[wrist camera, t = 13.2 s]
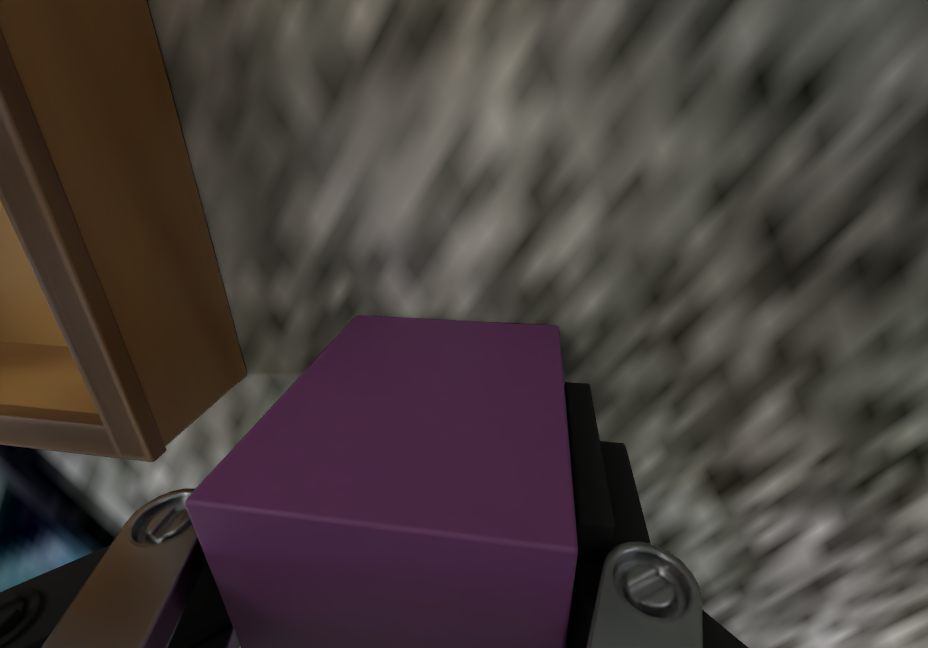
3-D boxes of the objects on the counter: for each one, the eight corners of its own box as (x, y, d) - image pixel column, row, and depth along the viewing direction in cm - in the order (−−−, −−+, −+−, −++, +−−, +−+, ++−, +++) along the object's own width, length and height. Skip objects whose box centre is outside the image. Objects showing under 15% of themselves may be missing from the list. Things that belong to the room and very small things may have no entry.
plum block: (559, 324, 10) (579, 551, 5) (546, 484, 12) (550, 765, 7) (355, 314, 11) (180, 500, 6) (376, 467, 13) (262, 708, 8)
